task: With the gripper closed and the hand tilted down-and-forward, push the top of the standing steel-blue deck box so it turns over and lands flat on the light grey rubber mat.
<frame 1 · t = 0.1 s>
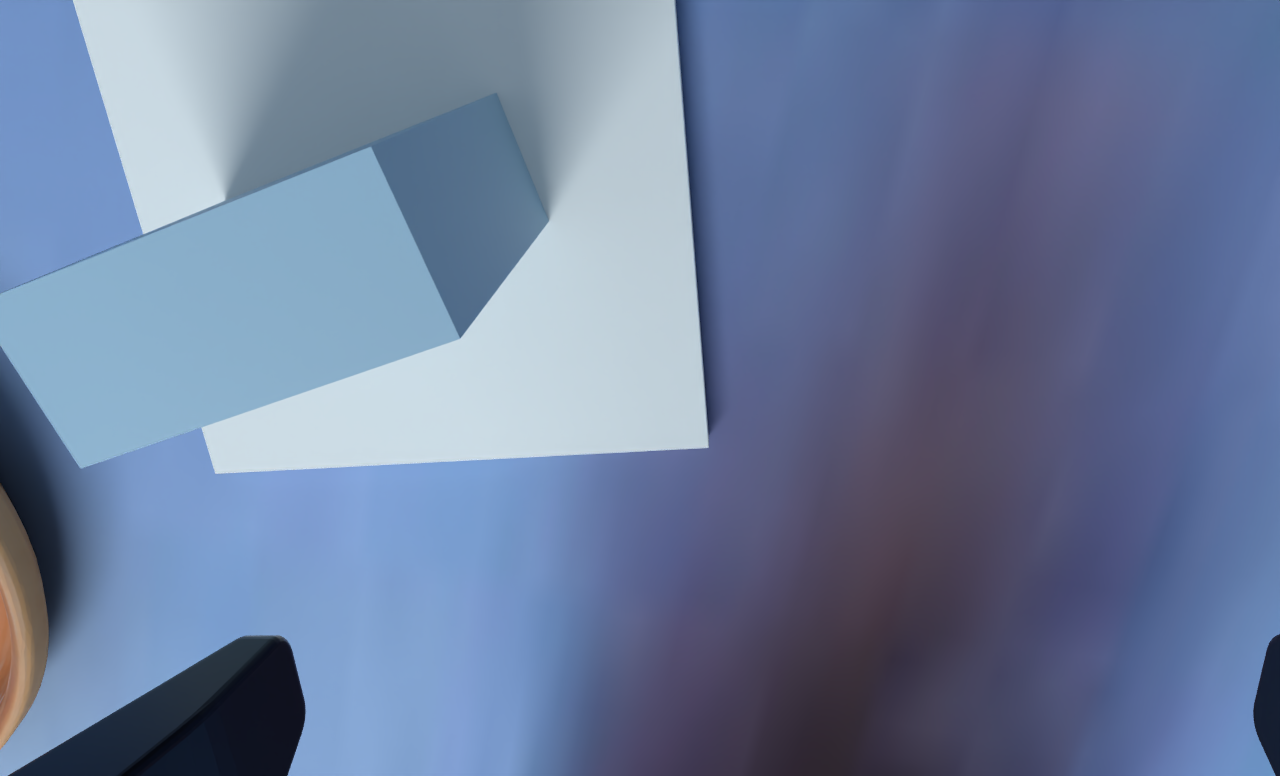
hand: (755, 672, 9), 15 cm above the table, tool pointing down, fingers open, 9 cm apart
mat: (412, 193, 22), on the table
deck box: (385, 210, 22), point 1 cm above the table, touching mat
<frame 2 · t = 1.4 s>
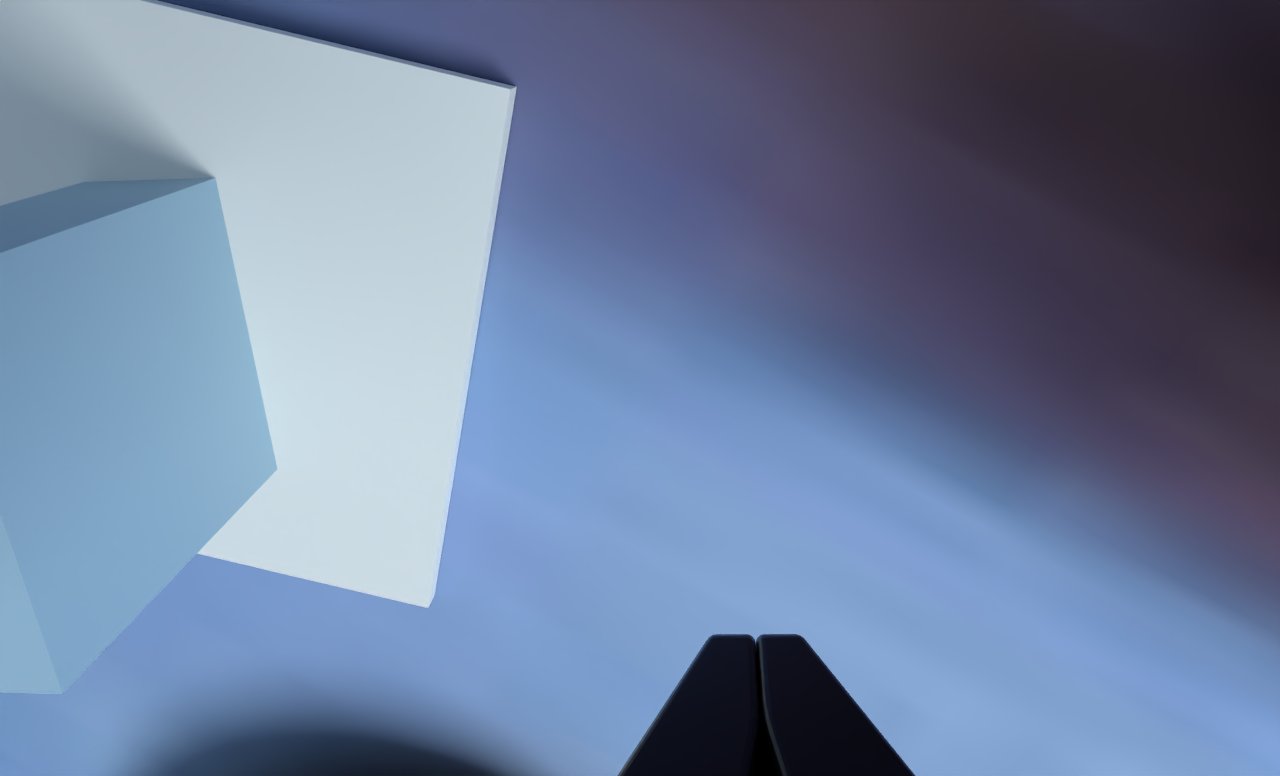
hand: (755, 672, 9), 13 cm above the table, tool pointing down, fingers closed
mat: (189, 302, 22), on the table
deck box: (186, 333, 22), point 1 cm above the table, touching mat
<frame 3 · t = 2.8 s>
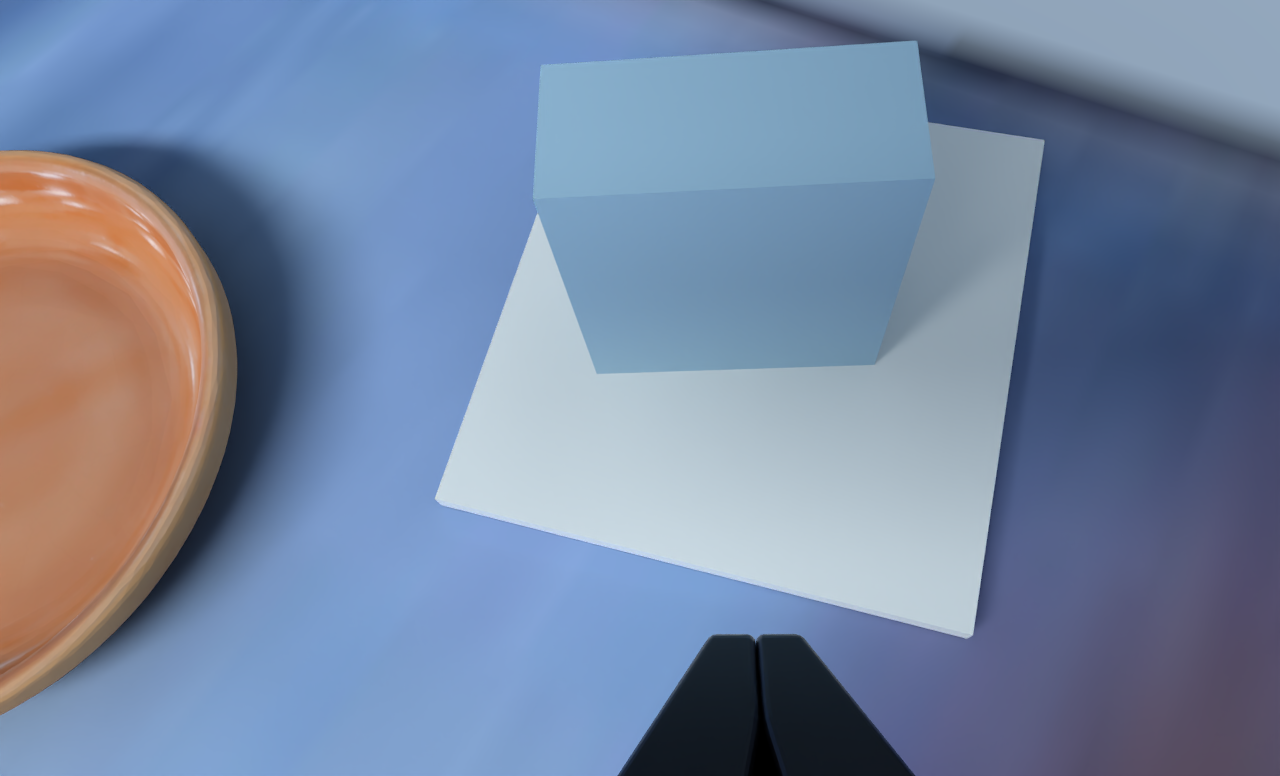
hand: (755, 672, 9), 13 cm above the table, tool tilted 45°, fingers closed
saucer: (2, 452, 26), on the table
mat: (752, 321, 25), on the table
deck box: (731, 316, 24), point 1 cm above the table, touching mat
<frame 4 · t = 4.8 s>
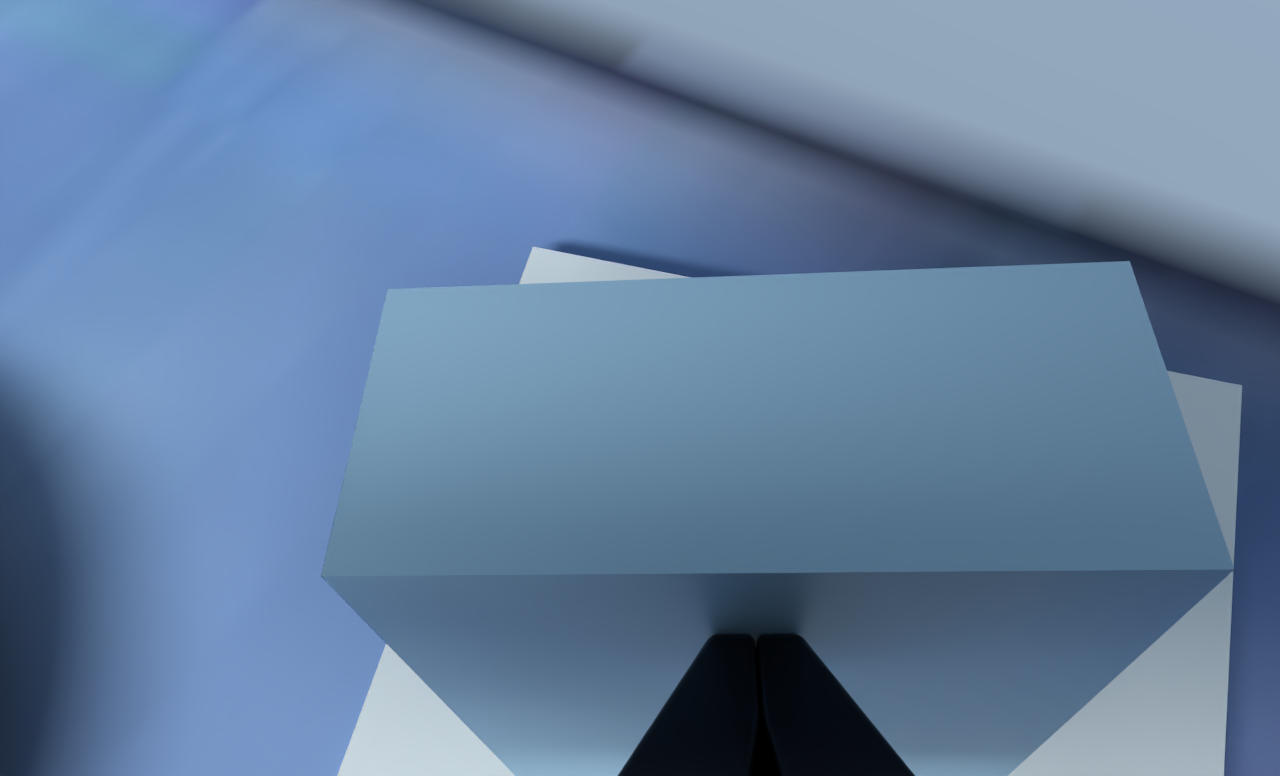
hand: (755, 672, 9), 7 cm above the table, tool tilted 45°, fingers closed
mat: (781, 681, 15), on the table
deck box: (748, 681, 15), point 1 cm above the table, tilted 10°, touching mat
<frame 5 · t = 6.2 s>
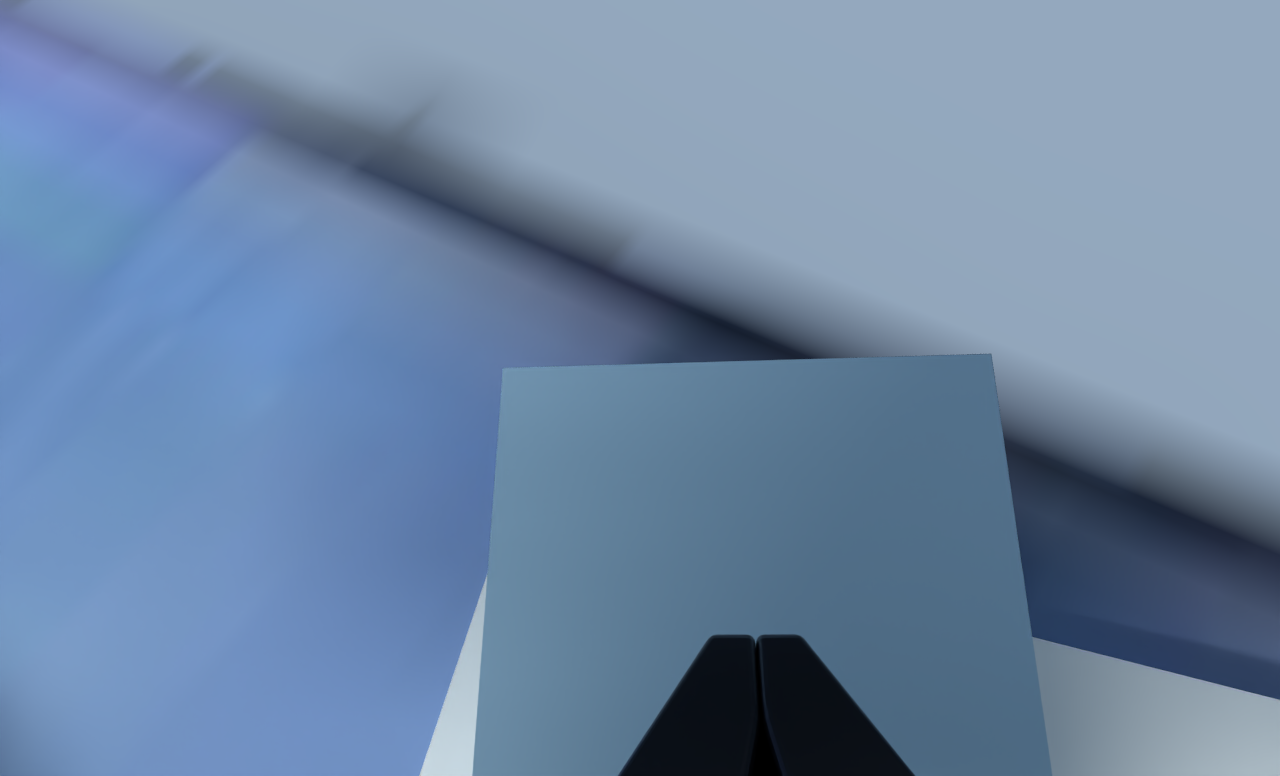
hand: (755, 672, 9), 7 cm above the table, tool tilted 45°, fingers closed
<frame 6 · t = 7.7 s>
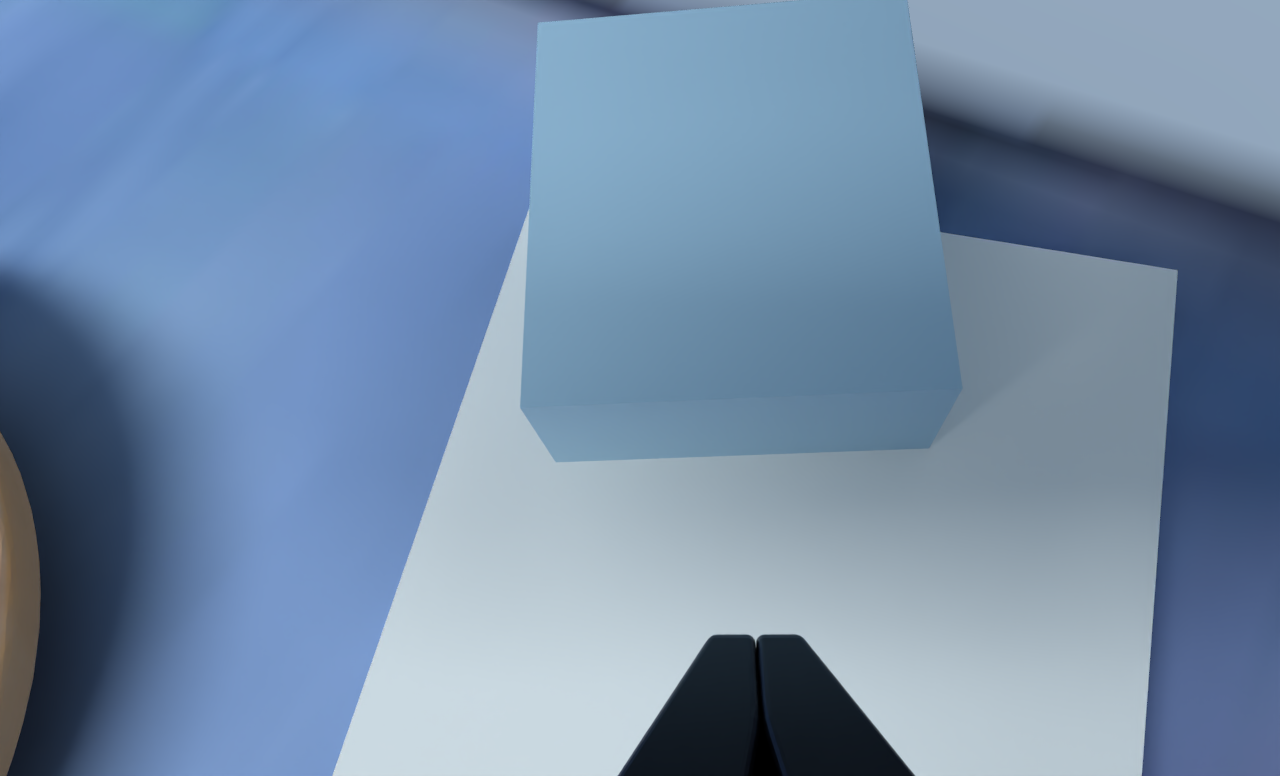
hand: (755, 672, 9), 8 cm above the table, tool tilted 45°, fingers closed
mat: (771, 536, 18), on the table
deck box: (737, 429, 16), point 2 cm above the table, tilted 90°, touching mat
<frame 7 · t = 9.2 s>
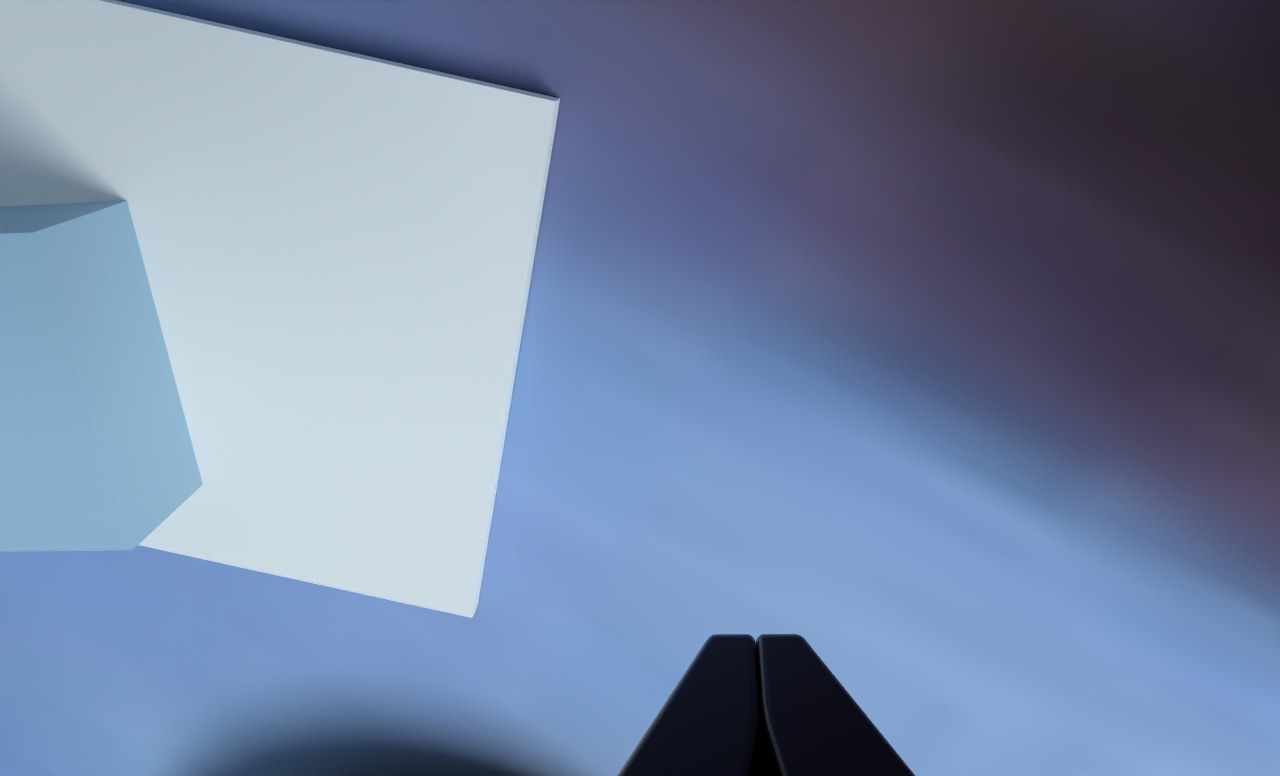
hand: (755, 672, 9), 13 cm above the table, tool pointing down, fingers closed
mat: (233, 318, 22), on the table
deck box: (129, 375, 20), point 2 cm above the table, tilted 90°, touching mat
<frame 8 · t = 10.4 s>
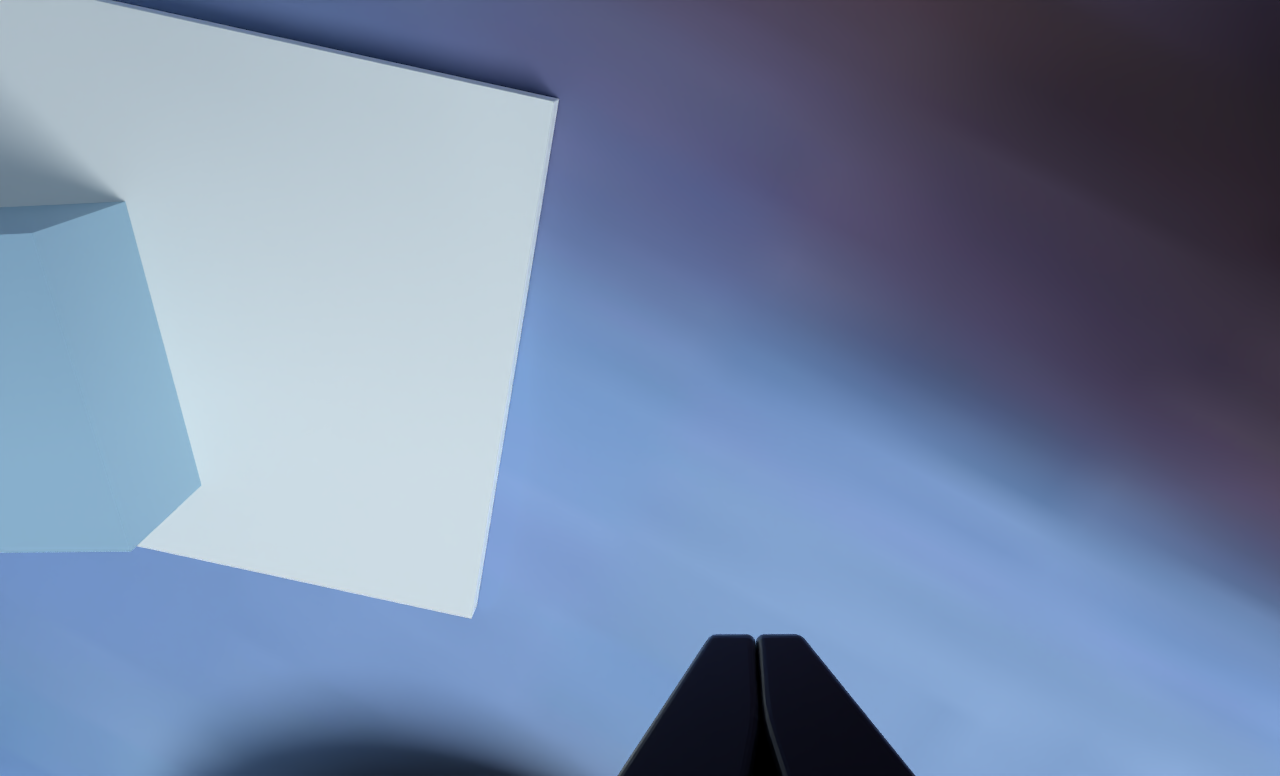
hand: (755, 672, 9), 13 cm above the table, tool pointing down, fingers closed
mat: (231, 319, 22), on the table
deck box: (128, 375, 20), point 2 cm above the table, tilted 90°, touching mat
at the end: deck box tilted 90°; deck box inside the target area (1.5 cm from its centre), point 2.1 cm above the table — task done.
